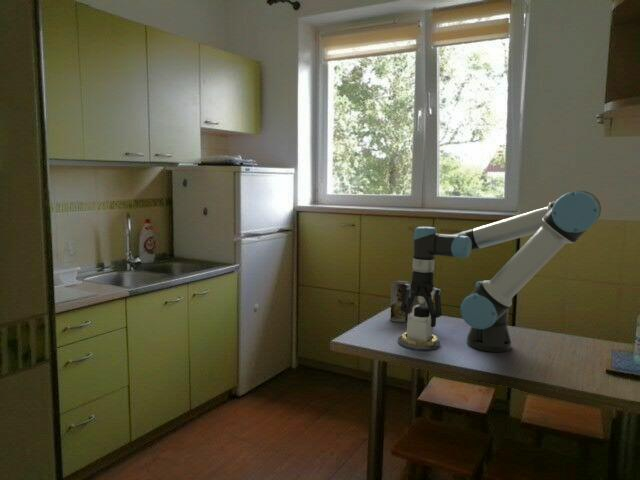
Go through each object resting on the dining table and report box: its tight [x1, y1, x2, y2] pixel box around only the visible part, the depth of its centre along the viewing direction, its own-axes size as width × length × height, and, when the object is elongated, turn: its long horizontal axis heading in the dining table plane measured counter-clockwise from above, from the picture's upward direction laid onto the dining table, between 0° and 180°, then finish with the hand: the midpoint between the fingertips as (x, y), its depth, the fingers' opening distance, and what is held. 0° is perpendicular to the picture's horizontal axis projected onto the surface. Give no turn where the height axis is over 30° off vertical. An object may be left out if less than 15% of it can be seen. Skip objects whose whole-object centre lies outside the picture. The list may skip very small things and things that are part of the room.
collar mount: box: [397, 331, 441, 352], centre depth 177 cm, size 15×15×2 cm
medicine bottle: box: [406, 304, 432, 341], centre depth 176 cm, size 7×7×12 cm
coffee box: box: [389, 279, 414, 323], centre depth 205 cm, size 9×6×16 cm
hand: (419, 332), depth 176 cm, fingers closed on medicine bottle, 7 cm apart
